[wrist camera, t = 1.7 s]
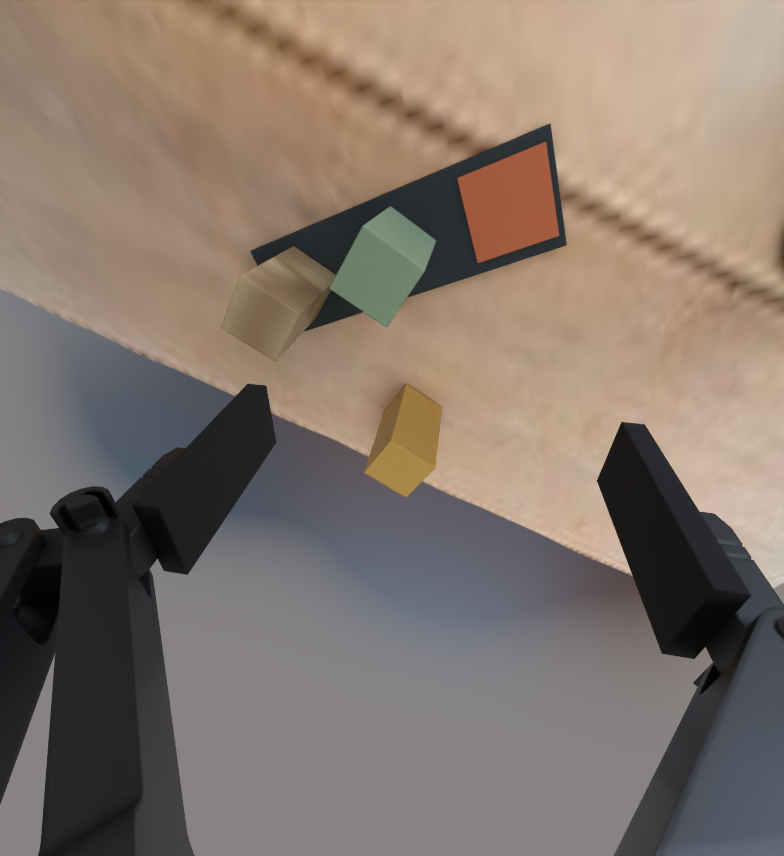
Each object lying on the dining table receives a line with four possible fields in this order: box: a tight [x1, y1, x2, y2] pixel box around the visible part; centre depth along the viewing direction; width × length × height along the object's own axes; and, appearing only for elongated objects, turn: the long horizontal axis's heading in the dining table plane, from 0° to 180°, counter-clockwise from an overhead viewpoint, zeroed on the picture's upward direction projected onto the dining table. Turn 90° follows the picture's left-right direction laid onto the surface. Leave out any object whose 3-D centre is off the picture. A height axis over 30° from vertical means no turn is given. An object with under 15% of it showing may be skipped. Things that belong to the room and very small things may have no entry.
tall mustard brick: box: [364, 384, 442, 497], centre depth 43 cm, size 5×5×11 cm
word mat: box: [251, 124, 566, 332], centre depth 37 cm, size 28×9×1 cm, turn 111°
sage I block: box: [330, 206, 436, 327], centre depth 33 cm, size 5×5×11 cm
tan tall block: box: [221, 246, 336, 362], centre depth 36 cm, size 5×5×11 cm
